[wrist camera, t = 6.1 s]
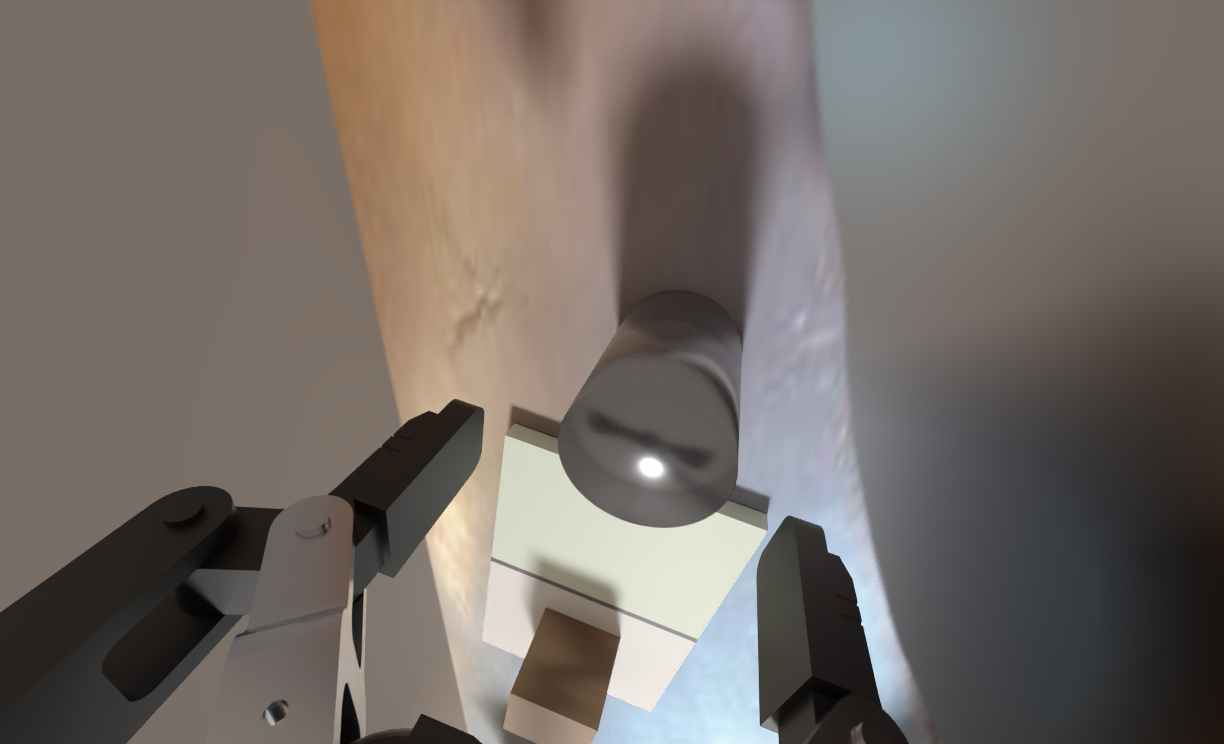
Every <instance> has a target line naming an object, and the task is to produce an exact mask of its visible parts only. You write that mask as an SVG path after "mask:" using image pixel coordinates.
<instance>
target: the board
mask: <svg viewBox="0 0 1224 744" xmlns="http://www.w3.org/2000/svg"><path fill="white" fill-rule="evenodd" d="M767 532H768V521H767V514H764V513H762V512H759V511H756V510H753V509H751V508H748V507H745V506H742V505H739V504H737V503H734V502H731V501H728V500H727V502H726V503H725V504H724V505H723V506H722V507H721V508H720V509H719V510H718V511H717V512H715V513H714V514H713V515H711V516H709V517H708V518H706V519H704V520H702V521H699V522H697V523H694V524H690V525H686V526H681V527H673V528H654V527H647V526H641V525H637V524H633V523H630V522H627V521H623V520H621V519H619V518H616V517H614V516H612V515H610V514H608V513H606V512H604V511H603V510H601V509H600V508H598V507H596V506H595V505H594V504H592V503H591V502H590V501H589V500H587V499H586V498H585V497H584V496H583V495H582V494H581V493H580V492H579V491H578V490H577V489H576V487H575V486H574V485H573V484H572V482H571V481H570V479H569V478H568V476H567V474H566V472H565V470H564V468H563V466H562V463H561V460H560V457H559V452H558V439H557V438H554V437H551V436H549V435H546V434H543V433H540V432H538V431H535V430H532V429H529V428H526V427H524V426H521V425H518V424H515V423H514V425H513V426H512V427H511V429H510V430H509V431H508V432H507V434H506V435H505V443H504V452H503V461H502V469H501V478H500V487H499V496H498V504H497V513H496V522H495V530H494V539H493V548H492V557H491V565H490V574H489V583H488V592H487V600H486V609H485V618H484V626H483V635H482V641H484V642H486V643H489V644H491V645H493V646H496V647H498V648H500V649H503V650H505V651H508V652H510V653H512V654H515V655H517V656H519V657H522V658H524V659H525V657H526V654H527V652H528V649H529V647H530V645H531V642H532V640H533V637H534V635H535V633H536V630H537V628H538V625H539V623H540V620H541V618H542V616H543V613H544V611H545V608H546V607H547V608H550V609H552V610H555V611H557V612H560V613H562V614H564V615H567V616H569V617H572V618H574V619H577V620H579V621H582V622H584V623H587V624H589V625H591V626H594V627H596V628H599V629H601V630H604V631H606V632H609V633H611V634H614V635H616V636H619V637H621V638H620V642H619V646H618V650H617V655H616V659H615V663H614V667H613V671H612V675H611V679H610V683H609V687H608V691H607V694H609V695H611V696H614V697H616V698H619V699H621V700H623V701H626V702H628V703H630V704H633V705H635V706H637V707H640V708H642V709H645V710H647V711H649V712H651V711H652V709H653V707H654V706H655V704H656V703H657V701H658V700H659V698H660V697H661V695H662V694H663V692H664V691H665V689H666V687H667V686H668V684H669V683H670V681H671V680H672V678H673V677H674V675H675V674H676V672H677V671H678V669H679V667H680V666H681V664H682V663H683V661H684V660H685V658H686V657H687V655H688V654H689V652H690V650H691V649H692V647H693V646H694V644H695V643H696V641H697V640H698V638H699V637H700V635H701V634H702V632H703V630H704V629H705V627H706V626H707V624H708V623H709V621H710V620H711V618H712V617H713V615H714V613H715V612H716V610H717V609H718V607H719V606H720V604H721V603H722V601H723V600H724V598H725V597H726V595H727V593H728V592H729V590H730V589H731V587H732V586H733V584H734V583H735V581H736V580H737V578H738V577H739V575H740V573H741V572H742V570H743V569H744V567H745V566H746V564H747V563H748V561H749V560H750V558H751V556H752V555H753V553H754V552H755V550H756V549H757V547H758V546H759V544H760V543H761V541H762V540H763V538H764V536H765V535H766V533H767Z"/></svg>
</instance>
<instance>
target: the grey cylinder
mask: <svg viewBox="0 0 1224 744" xmlns="http://www.w3.org/2000/svg"><path fill="white" fill-rule="evenodd" d="M741 361H742V343H741V338H740V334H739V331H738V329H737V326H736V324H735V323H734V321H733V319H732V318H731V317H730V315H729V314H728V313H727V312H726V311H725V310H724V309H723V308H722V307H721V306H720V305H718V304H717V303H716V302H714V301H713V300H711V299H709V298H707V297H705V296H702V295H700V294H697V293H693V292H688V291H666V292H661V293H657V294H654V295H652V296H649V297H647V298H645V299H644V300H642V301H641V302H639V303H638V304H637V305H635V306H634V307H633V308H632V310H631V311H630V312H629V313H628V314H627V316H626V317H625V319H624V321H623V322H622V324H621V325H620V327H619V329H618V330H617V332H616V334H615V335H614V337H613V338H612V340H611V342H610V343H609V345H608V347H607V348H606V350H605V351H604V353H603V355H602V356H601V358H600V360H599V361H598V363H597V364H596V366H595V368H594V369H593V371H592V373H591V374H590V376H589V377H588V379H587V381H586V382H585V384H584V385H583V387H582V389H581V390H580V392H579V394H578V395H577V397H576V398H575V400H574V402H573V403H572V405H571V407H570V408H569V410H568V411H567V413H566V415H565V417H564V419H563V421H562V423H561V426H560V429H559V433H558V452H559V457H560V460H561V463H562V466H563V468H564V470H565V472H566V474H567V476H568V478H569V479H570V481H571V482H572V484H573V485H574V486H575V487H576V489H577V490H578V491H579V492H580V493H581V494H582V495H583V496H584V497H585V498H586V499H587V500H589V501H590V502H591V503H592V504H594V505H595V506H596V507H598V508H600V509H601V510H603V511H604V512H606V513H608V514H610V515H612V516H614V517H616V518H619V519H621V520H623V521H627V522H630V523H633V524H637V525H641V526H647V527H654V528H673V527H681V526H686V525H690V524H694V523H697V522H699V521H702V520H704V519H706V518H708V517H709V516H711V515H713V514H714V513H715V512H717V511H718V510H719V509H720V508H721V507H722V506H723V505H724V504H725V503H726V502H727V500H728V499H729V497H730V496H731V494H732V492H733V490H734V487H735V485H736V480H737V474H738V448H739V419H740V390H741Z"/></svg>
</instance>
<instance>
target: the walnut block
mask: <svg viewBox="0 0 1224 744" xmlns="http://www.w3.org/2000/svg"><path fill="white" fill-rule="evenodd" d="M620 638H621V637H619V636H616V635H614V634H611V633H609V632H606V631H604V630H601V629H599V628H596V627H594V626H591V625H589V624H587V623H584V622H582V621H579V620H577V619H574V618H572V617H569V616H567V615H564V614H562V613H560V612H557V611H555V610H552V609H550V608H547V607H546V608H545V611H544V613H543V616H542V618H541V620H540V623H539V625H538V628H537V630H536V633H535V635H534V637H533V640H532V642H531V645H530V647H529V649H528V652H527V654H526V657H525V659H524V661H523V664H522V666H521V669H520V671H519V673H518V676H517V678H516V681H515V683H514V686H513V688H512V690H511V693H510V697H509V702H508V706H507V711H506V716H505V720H504V725H503V729H505V730H507V731H509V732H511V733H514V734H516V735H518V736H520V737H523V738H525V739H527V740H529V741H532V742H534V743H536V744H591V743H592V741H593V739H594V737H595V735H596V733H597V731H598V727H599V723H600V719H601V715H602V711H603V707H604V703H605V699H606V695H607V691H608V687H609V683H610V679H611V675H612V671H613V667H614V663H615V659H616V655H617V650H618V646H619V642H620Z"/></svg>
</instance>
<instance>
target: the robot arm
mask: <svg viewBox="0 0 1224 744" xmlns="http://www.w3.org/2000/svg"><path fill="white" fill-rule="evenodd" d="M483 424H484V410H483V408H481V407H478V406H475V405H472V404H469V403H466V402H463V401H460V400H458V399H454V400H452V401H451V402H450V403H449V404H448V405H447V406H446V407H445V408H444V409H443V410H442V411H441V412H440V413H439V414H436V413H433V412H431V411H428V412H426V413H423V414H421V415H419V416H417V417H415V418H413V419H410V420H409V421H408V422H406V423H405V424H404V425H403V426H402V427H401V428H400V429H399V430H398V431H397V432H396V433H395V434H394V436H393V437H392V436H391V437H390V438H389V439H388V440H387V441H386V442H385V443H384V444H383V445H382V447H381V448H378V449H377V450H376V451H375V452H374V453H373V454H372V455H371V456H370V457H369V458H368V459H367V460H365V461H364V462H363V463H362V464H361V465H360V466H359V467H358V468H357V469H356V470H355V471H354V472H352V473H351V474H350V475H349V476H348V477H347V478H346V479H345V480H344V481H343V482H342V483H341V484H340V485H338V486H337V487H336V488H335V489H334V490H333V491H332V492H330V493H329V494H328V495H318V496H313V497H308V498H305V499H302V500H300V501H298V502H296V503H294V504H292V505H290V506H288V507H287V508H286V509H269V508H252V507H235V505H234V503H233V500H232V498H231V496H230V495H229V493H227V492H226V491H225V490H223V489H221V488H217V487H212V486H198V487H191V488H187V489H183V490H179V491H177V492H173V493H171V494H169V495H166V496H164V497H163V498H161V499H159V500H157V501H156V502H154V503H153V504H151V505H150V506H148V507H147V508H146V509H144V510H143V511H141V512H140V513H138V514H137V515H136V516H134V517H133V518H132V519H130V520H129V521H127V522H126V523H125V524H123V525H122V526H120V527H119V528H118V529H116V530H115V531H113V532H112V533H111V534H109V535H108V536H106V537H105V538H104V539H102V540H101V541H99V542H98V543H97V544H95V545H94V546H92V547H91V548H90V549H88V550H87V551H85V552H84V553H83V554H81V555H80V556H79V557H77V558H76V559H74V560H73V561H72V562H70V563H69V564H67V565H66V566H65V567H63V568H62V569H60V570H59V571H58V572H56V573H55V574H54V575H52V576H51V577H49V578H48V579H46V580H45V581H44V582H42V583H41V584H40V585H38V586H37V587H35V588H34V589H33V590H31V591H30V592H28V593H27V594H26V595H24V596H23V597H21V598H20V599H19V600H17V601H16V602H14V603H13V604H12V605H10V606H9V607H7V608H6V609H5V610H3V611H2V612H0V744H126V743H127V742H128V741H129V740H130V739H131V738H132V736H134V734H135V733H136V732H137V731H138V730H139V729H140V728H141V727H142V726H143V724H144V723H145V722H146V721H147V720H148V719H149V718H150V717H151V716H152V715H153V714H154V713H155V711H156V710H157V709H158V708H159V707H160V706H161V705H162V704H163V703H164V702H165V701H166V699H167V698H168V697H169V696H170V695H171V694H172V693H173V692H174V691H175V690H176V689H177V687H178V686H179V685H180V684H181V683H182V682H183V681H184V680H185V678H187V676H188V675H189V674H190V673H191V672H192V671H193V670H194V669H195V668H196V666H198V664H199V663H200V662H201V661H202V660H203V659H204V658H205V657H206V656H207V654H209V652H210V651H211V650H212V649H213V648H214V647H215V646H216V645H217V644H218V643H219V641H220V640H221V639H222V638H223V637H224V636H225V635H226V634H227V633H228V632H229V631H230V629H231V628H232V627H233V626H234V625H235V624H236V623H237V622H238V621H239V620H240V618H241V617H242V616H243V615H250V619H249V623H248V626H247V629H246V631H245V632H244V633H241V634H238V635H237V636H236V637H235V638H234V640H233V641H232V643H231V646H230V648H229V651H228V654H227V658H226V661H225V666H224V670H223V674H222V678H221V682H220V686H219V690H218V694H217V698H216V702H215V707H214V710H213V714H212V719H211V723H210V727H209V731H208V735H207V739H206V743H205V744H482V743H481V742H480V741H478V740H477V739H476V738H475V737H474V736H472V735H470V734H468V733H465V732H463V731H461V730H458V729H456V728H454V727H451V726H449V725H447V724H444V723H442V722H440V721H437V720H435V719H433V718H430V717H428V716H426V715H423V714H421V715H420V717H419V719H418V721H417V723H416V724H415V726H414V728H401V729H390V730H386V731H382V732H377V733H373V734H371V735H368V736H365V730H366V727H365V726H366V705H365V688H364V657H365V624H366V587H367V585H368V584H369V583H370V582H371V581H372V579H373V578H374V577H375V576H376V574H377V573H378V572H379V573H382V574H384V575H387V576H389V577H392V578H394V577H395V575H396V574H397V573H398V572H399V570H400V569H401V568H402V566H403V565H404V564H405V562H406V561H407V560H408V558H409V557H410V555H411V554H412V553H413V552H414V550H415V549H416V548H417V546H418V545H419V544H420V542H421V541H422V540H423V538H424V537H425V536H426V534H427V533H428V532H429V530H430V529H431V528H432V526H433V525H434V524H435V522H436V521H437V520H438V518H439V517H440V516H441V514H442V513H443V512H444V510H445V509H446V508H447V506H448V505H449V504H450V502H451V501H452V500H453V498H454V497H455V496H456V494H457V493H458V492H459V490H460V489H461V488H462V486H463V485H464V484H465V482H466V481H467V480H468V478H469V477H470V476H471V474H472V473H473V471H474V470H475V468H476V466H477V464H478V462H479V459H480V456H481V452H482V440H483ZM757 616H758V660H759V704H760V726H761V727H763V728H766V729H768V730H771V731H774V732H776V733H778V734H779V744H909V743H908V741H907V739H906V737H905V736H904V734H903V732H902V731H901V729H900V728H899V727H898V725H897V724H896V723H895V721H894V720H893V719H892V718H891V717H890V716H889V715H888V714H887V713H886V712H885V711H884V710H883V709H882V706H881V703H880V699H879V695H878V690H877V686H876V682H875V677H874V673H873V668H872V664H871V659H870V655H869V651H868V646H867V642H866V637H865V633H864V628H863V626H861V622H862V620H861V615H860V611H859V607H858V606H857V597H856V593H855V589H854V584H853V580H852V578H851V576H850V574H849V573H848V571H847V569H846V567H845V566H844V564H843V562H842V561H841V559H840V557H839V556H837V555H834V554H831V553H828V550H827V545H826V539H825V534H824V531H823V529H822V527H821V526H818V525H815V524H813V523H810V522H807V521H804V520H801V519H798V518H795V517H792V516H787V517H786V518H785V519H784V520H783V522H782V523H781V525H780V526H779V528H778V529H777V531H776V532H775V534H774V536H773V537H772V539H771V540H770V542H769V543H768V545H767V546H766V548H765V549H764V551H763V552H762V555H761V557H760V560H759V563H758V568H757Z"/></svg>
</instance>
